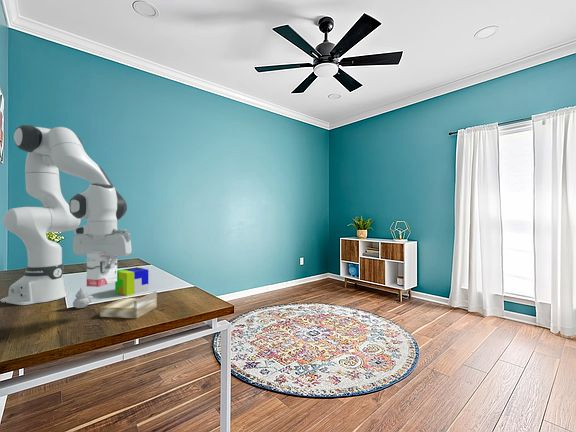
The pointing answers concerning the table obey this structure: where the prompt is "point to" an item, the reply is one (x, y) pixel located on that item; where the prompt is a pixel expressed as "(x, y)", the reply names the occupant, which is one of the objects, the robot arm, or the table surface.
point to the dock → (130, 307)
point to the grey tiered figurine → (82, 299)
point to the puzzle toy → (131, 281)
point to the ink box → (99, 269)
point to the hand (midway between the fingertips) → (102, 268)
